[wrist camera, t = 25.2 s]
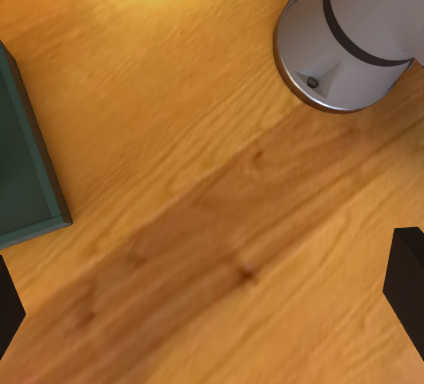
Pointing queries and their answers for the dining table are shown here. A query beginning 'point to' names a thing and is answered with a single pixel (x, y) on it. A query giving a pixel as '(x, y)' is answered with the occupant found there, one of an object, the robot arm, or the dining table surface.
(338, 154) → the dining table surface
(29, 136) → the bin
